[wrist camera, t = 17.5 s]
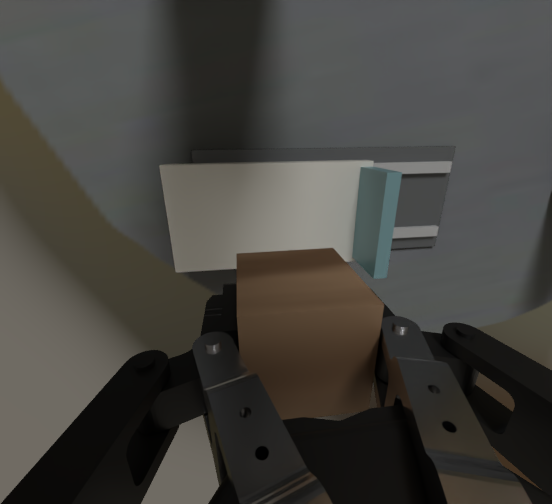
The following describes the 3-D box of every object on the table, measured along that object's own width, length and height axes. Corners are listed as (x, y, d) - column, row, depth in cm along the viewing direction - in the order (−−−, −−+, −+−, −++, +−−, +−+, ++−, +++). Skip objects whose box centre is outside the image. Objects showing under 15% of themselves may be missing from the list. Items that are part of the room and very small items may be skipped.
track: (191, 150, 29) (190, 150, 28) (453, 146, 32) (459, 146, 31) (203, 258, 33) (203, 261, 32) (432, 245, 37) (437, 247, 36)
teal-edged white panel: (170, 161, 28) (140, 171, 19) (354, 158, 30) (403, 165, 22) (183, 255, 32) (163, 299, 23) (347, 245, 34) (385, 282, 25)
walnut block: (236, 253, 13) (236, 317, 8) (333, 247, 13) (384, 304, 9) (242, 335, 14) (244, 426, 10) (327, 327, 15) (368, 410, 10)
